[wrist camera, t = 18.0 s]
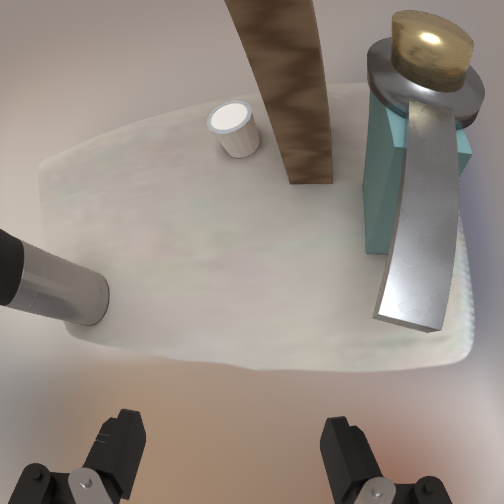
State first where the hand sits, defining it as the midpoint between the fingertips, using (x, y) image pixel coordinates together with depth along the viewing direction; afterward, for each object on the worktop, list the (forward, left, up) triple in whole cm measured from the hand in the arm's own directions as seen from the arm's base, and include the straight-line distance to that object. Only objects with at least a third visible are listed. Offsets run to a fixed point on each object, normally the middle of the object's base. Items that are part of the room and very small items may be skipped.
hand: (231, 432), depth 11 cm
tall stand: (0, +31, -23) cm, 39 cm away
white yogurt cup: (-11, +34, -24) cm, 42 cm away
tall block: (+10, +21, -23) cm, 33 cm away
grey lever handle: (+10, +16, -2) cm, 18 cm away
